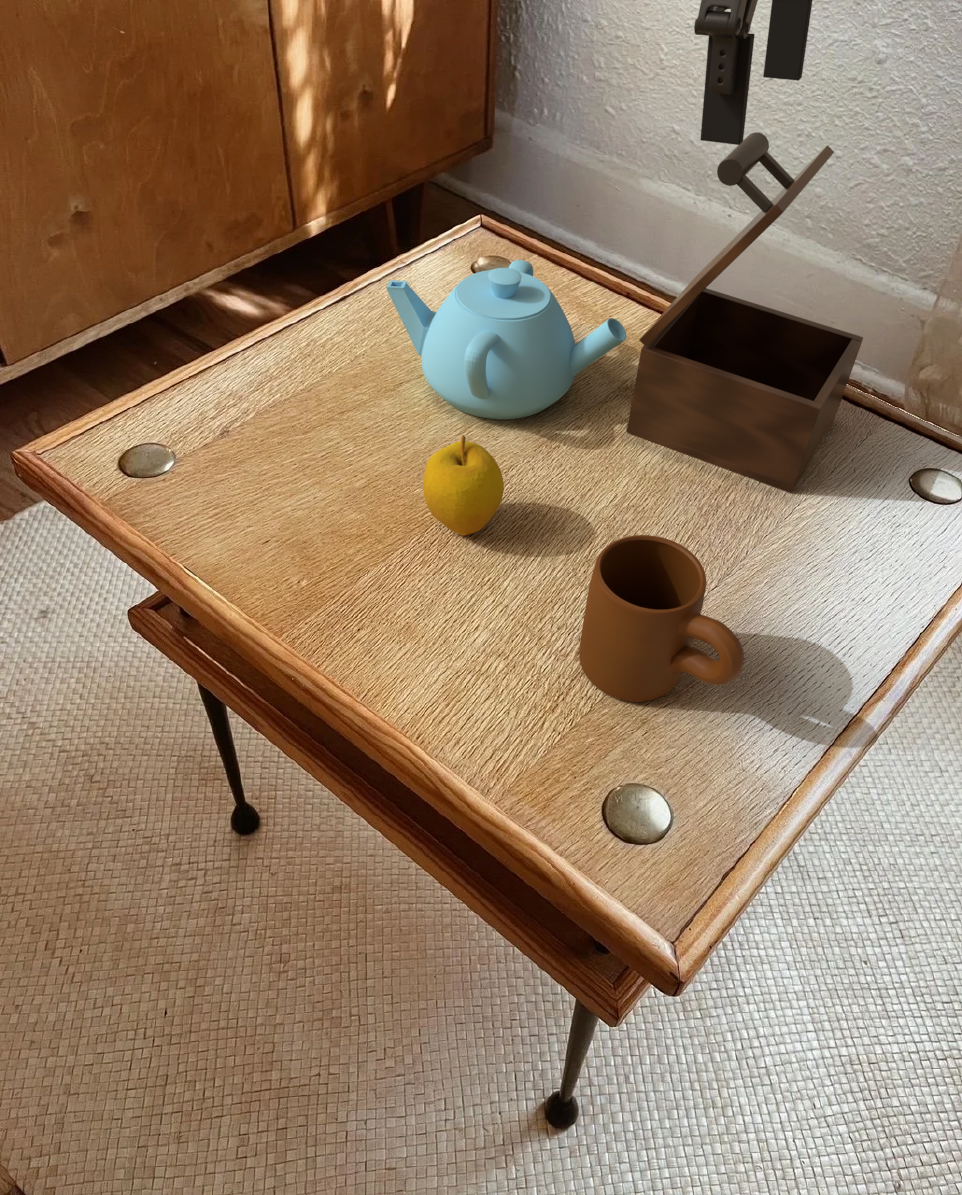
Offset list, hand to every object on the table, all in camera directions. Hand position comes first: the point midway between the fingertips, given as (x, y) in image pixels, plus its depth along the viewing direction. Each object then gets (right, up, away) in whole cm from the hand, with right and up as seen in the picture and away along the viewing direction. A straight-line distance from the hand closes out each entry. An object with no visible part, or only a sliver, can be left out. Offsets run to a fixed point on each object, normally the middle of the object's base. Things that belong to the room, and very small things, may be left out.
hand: (753, 108), depth 73 cm
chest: (+4, -19, +21) cm, 29 cm away
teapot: (-18, -15, +25) cm, 34 cm away
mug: (-7, -41, 0) cm, 42 cm away
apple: (-21, -29, +11) cm, 37 cm away
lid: (+2, -7, +11) cm, 13 cm away
